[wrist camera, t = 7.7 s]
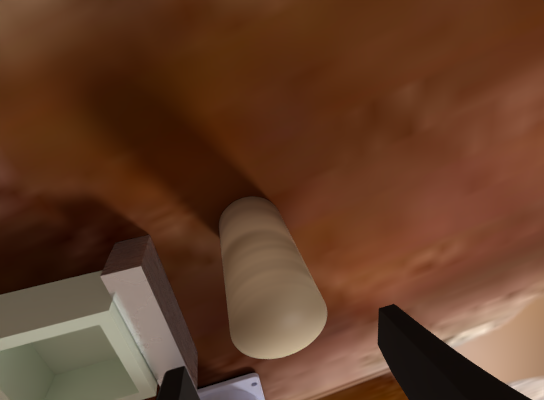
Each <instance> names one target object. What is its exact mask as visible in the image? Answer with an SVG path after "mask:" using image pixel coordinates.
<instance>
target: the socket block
mask: <svg viewBox="0 0 544 400" xmlns="http://www.w3.org/2000/svg"><path fill="white" fill-rule="evenodd" d="M102 271H103V270H102ZM102 271H98V272H93V273H89V274H85V275H81V276H77V277H73V278H68V279H64V280H60V281H56V282H52V283H47V284H43V285H39V286H35V287H31V288H27V289H22V290H18V291H14V292H10V293H6V294H2V295H0V400H143V399H146V398H150V397H153V396H156V391H157V383H158V382H157V380H156V378H155V376H154V374H153V373H152V371H151V369H150V367H149V365H148V363H147V362H146V360H145V358H144V356H143V354H142V352H141V351H140V349H139V347H138V345H137V343H136V341H135V340H134V338H133V336H132V334H131V332H130V330H129V329H128V327H127V325H126V323H125V321H124V319H123V318H122V316H121V314H120V312H119V310H118V308H117V306H116V305H115V303H114V301H113V299H112V297H111V295H110V294H109V292H108V290H107V288H106V286H105V284H104V283H103V281H102V279H101V277H100V275H101V273H102Z"/></svg>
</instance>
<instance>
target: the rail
mask: <svg viewBox="0 0 544 400" xmlns="http://www.w3.org/2000/svg"><path fill="white" fill-rule="evenodd" d="M100 277H101V279H102V281H103V283H104V284H105V286H106V288H107V290H108V292H109V294H110V295H111V297H112V299H113V301H114V303H115V305H116V306H117V308H118V310H119V312H120V314H121V316H122V318H123V319H124V321H125V323H126V325H127V327H128V329H129V330H130V332H131V334H132V336H133V338H134V340H135V341H136V343H137V345H138V347H139V349H140V351H141V352H142V354H143V356H144V358H145V360H146V362H147V363H148V365H149V367H150V369H151V371H152V373H153V374H154V376H155V378H156V380H157V382H158V384H159V386H161V383H162V380H163V377H164V374H165V373H166V371H168V370H171V369H175V368H178V367H182V366H185V367H186V369H187V372H188V374H189V376H190V378H191V380H192V383H193V385H194V387H195V389H196V391H197V350H196V347H195V345H194V343H193V340H192V338H191V335H190V333H189V330H188V328H187V325H186V323H185V320H184V318H183V316H182V313H181V311H180V308H179V306H178V303H177V301H176V298H175V296H174V293H173V291H172V289H171V286H170V284H169V281H168V279H167V276H166V274H165V271H164V269H163V266H162V264H161V262H160V259H159V257H158V254H157V252H156V249H155V247H154V244H153V242H152V239H151V237H150V235H147V236H142V237H138V238H134V239H130V240H126V241H121V242H117V243H115V244H114V246H113V249H112V251H111V253H110V255H109V258H108V260H107V262H106V264H105V266H104V269H103V271H102V273H101V275H100Z"/></svg>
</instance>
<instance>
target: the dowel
mask: <svg viewBox="0 0 544 400" xmlns="http://www.w3.org/2000/svg"><path fill="white" fill-rule="evenodd" d="M219 234H220V244H221V253H222V262H223V271H224V280H225V289H226V298H227V307H228V316H229V326H230V334H231V339H232V341H233V343H234V345H235V346H236V347H237V349H238V350H240V351H241V352H242V353H244V354H246V355H248V356H251V357H254V358H260V359H275V358H281V357H285V356H288V355H291V354H293V353H296V352H298V351H300V350H301V349H303V348H305V347H306V346H308V345H309V344H310V343H311V342H313V341H314V340H315V339H316V338H317V336H318V335H319V334H320V332H321V331H322V329H323V327H324V325H325V323H326V319H327V308H326V304H325V302H324V300H323V298H322V296H321V294H320V292H319V290H318V288H317V286H316V284H315V282H314V280H313V278H312V276H311V274H310V272H309V270H308V268H307V266H306V264H305V262H304V260H303V258H302V256H301V254H300V252H299V251H298V249H297V247H296V245H295V243H294V241H293V239H292V237H291V235H290V233H289V231H288V229H287V227H286V225H285V223H284V221H283V219H282V217H281V215H280V213H279V211H278V209H277V208H276V206H275V205H274V204H273V203H271V202H270V201H268V200H266V199H264V198H261V197H254V196H252V197H244V198H241V199H238V200H236V201H234V202H233V203H231V204H230V205H229V206H228V207H227V208H226V209H225V210H224V212H223V213H222V215H221V217H220V221H219Z"/></svg>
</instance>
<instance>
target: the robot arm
mask: <svg viewBox="0 0 544 400" xmlns="http://www.w3.org/2000/svg"><path fill="white" fill-rule="evenodd" d="M378 346H379V348H380V350H381V352H382V354H383V356H384V358H385V360H386V362H387V364H388V366H389V368H390V370H391V372H392V373H393V375H394V377H395V378H396V380H397V381H398V383H399V385H400V386H401V388H402V389H403V391H404V392H405V394H406V396H407V397H408V399H409V400H532V399H530V398H528V397H526V396H525V395H523V394H521V393H520V392H518V391H516V390H515V389H513V388H511V387H510V386H508V385H506V384H505V383H503V382H502V381H500V380H498V379H497V378H495V377H494V376H492V375H491V374H489V373H488V372H486V371H485V370H483V369H482V368H480V367H479V366H477V365H475V364H474V363H472V362H471V361H470V360H468V359H467V358H465V357H464V356H462V355H461V354H460V353H458V352H457V351H455V350H454V349H453V348H451V347H450V346H449V345H447V344H446V343H444V342H443V341H442V340H440V339H439V338H438V337H436V336H435V335H434V334H432V333H431V332H430V331H428V330H427V329H426V328H424V327H423V326H422V325H420V324H419V323H418V322H417V321H415V320H414V319H413V318H412V317H410V316H409V315H408V314H406V313H405V312H404V311H403V310H401V309H400V308H399V307H398V306H396V305H395V304H392V305H389V306H385V307H382V308H379V320H378ZM156 400H265V398H264V394H263V390H262V387H261V383H260V379H259V376H258V374H257V373H250V374H247V375H244V376H240V377H237V378H234V379H231V380H227V381H224V382H221V383H218V384H214V385H211V386H208V387H205V388H201V389H198V390H197V391H196V389H195V387H194V385H193V383H192V380H191V378H190V376H189V374H188V372H187V369H186V367H185V366H182V367H178V368H175V369H171V370H168V371H166V373H165V374H164V377H163V380H162V383H161V386H160V389H159V392H158V395H157V398H156Z"/></svg>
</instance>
